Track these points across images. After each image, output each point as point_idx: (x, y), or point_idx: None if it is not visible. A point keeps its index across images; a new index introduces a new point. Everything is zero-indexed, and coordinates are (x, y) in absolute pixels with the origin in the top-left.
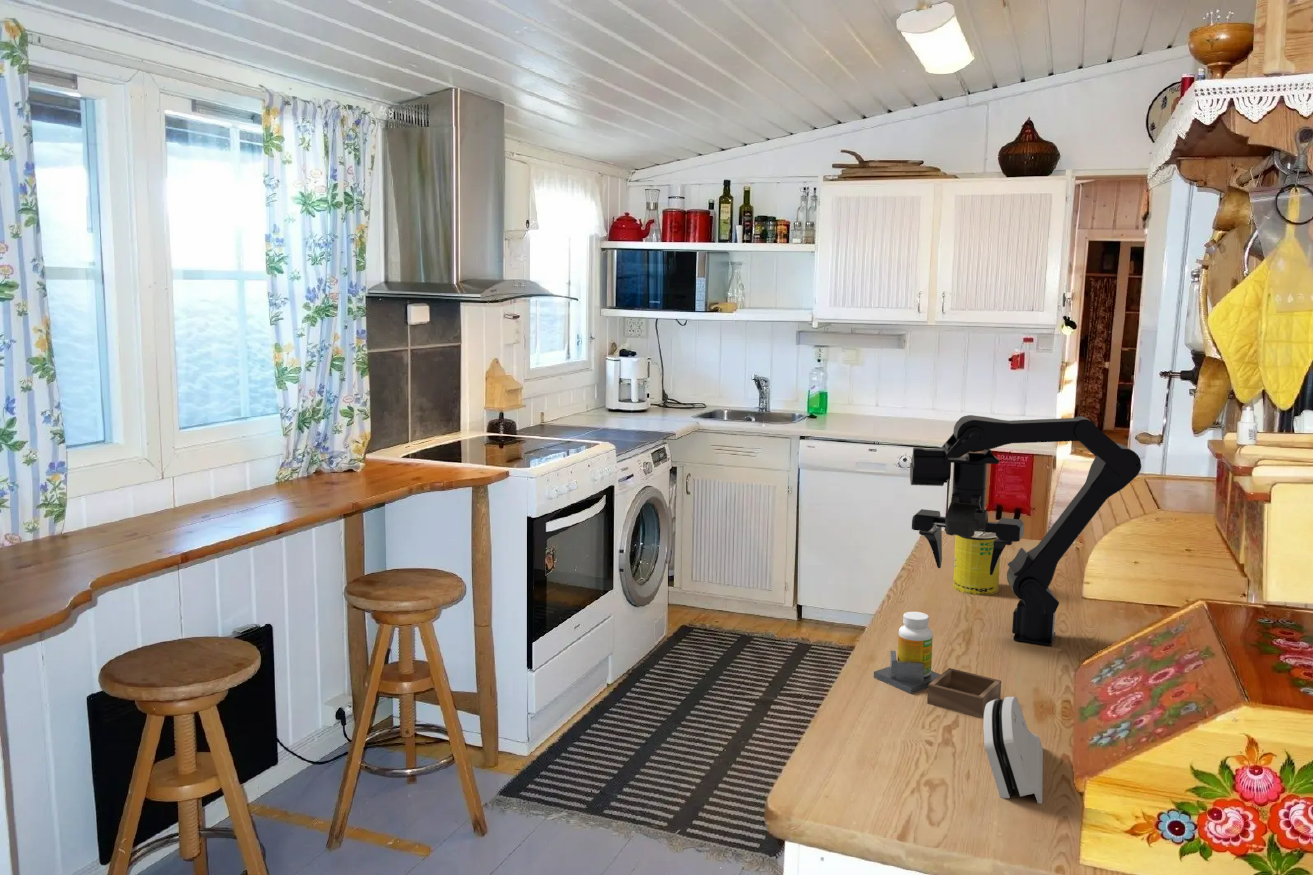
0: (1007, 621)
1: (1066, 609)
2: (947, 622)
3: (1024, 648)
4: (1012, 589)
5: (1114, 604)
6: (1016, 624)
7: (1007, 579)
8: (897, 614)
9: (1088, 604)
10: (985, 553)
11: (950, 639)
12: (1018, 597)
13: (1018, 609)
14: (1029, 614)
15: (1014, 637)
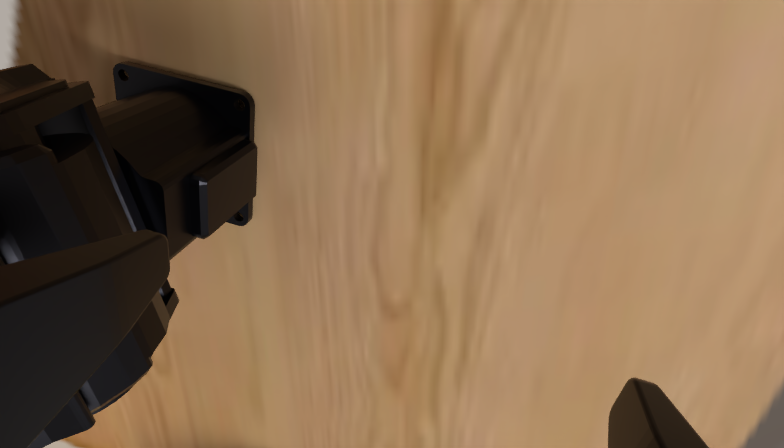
0: (297, 295)
1: (159, 397)
2: (518, 261)
3: (204, 10)
4: (96, 180)
5: None
6: (218, 146)
7: (154, 334)
8: (747, 328)
9: (121, 429)
10: None
11: (524, 41)
12: (88, 136)
13: (168, 172)
14: (118, 127)
15: (245, 99)
